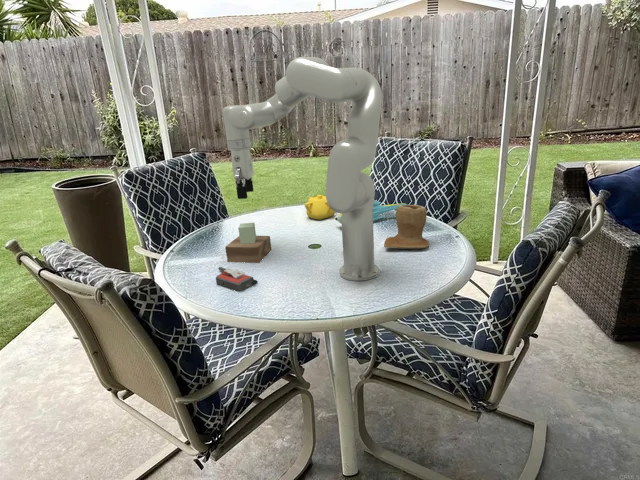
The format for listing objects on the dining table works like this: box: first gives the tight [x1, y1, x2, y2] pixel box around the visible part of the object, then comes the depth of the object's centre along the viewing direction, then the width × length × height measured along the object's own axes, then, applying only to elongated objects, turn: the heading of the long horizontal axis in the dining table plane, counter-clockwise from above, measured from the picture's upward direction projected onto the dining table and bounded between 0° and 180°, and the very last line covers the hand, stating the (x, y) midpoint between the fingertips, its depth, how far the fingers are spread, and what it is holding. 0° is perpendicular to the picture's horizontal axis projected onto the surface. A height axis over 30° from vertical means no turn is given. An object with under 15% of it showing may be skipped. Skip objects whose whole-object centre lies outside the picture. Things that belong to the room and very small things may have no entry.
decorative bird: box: [335, 200, 408, 225], centre depth 185 cm, size 14×30×9 cm, turn 118°
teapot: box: [304, 194, 336, 221], centre depth 197 cm, size 14×13×10 cm
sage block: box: [237, 222, 257, 244], centre depth 156 cm, size 5×5×6 cm
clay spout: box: [383, 204, 430, 250], centre depth 155 cm, size 15×12×15 cm
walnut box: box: [225, 235, 272, 264], centre depth 158 cm, size 12×12×6 cm
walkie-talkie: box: [215, 266, 258, 293], centre depth 139 cm, size 9×4×20 cm
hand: (246, 195), depth 152 cm, fingers open, 9 cm apart
